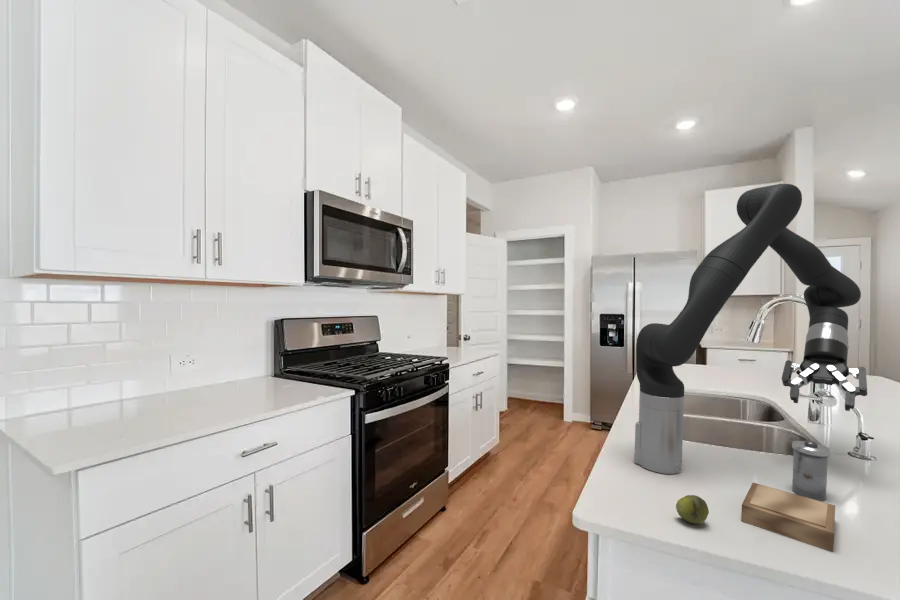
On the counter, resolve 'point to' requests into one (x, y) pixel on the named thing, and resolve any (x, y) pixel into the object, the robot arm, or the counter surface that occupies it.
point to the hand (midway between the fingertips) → (820, 405)
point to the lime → (692, 509)
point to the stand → (790, 515)
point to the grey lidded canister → (810, 469)
